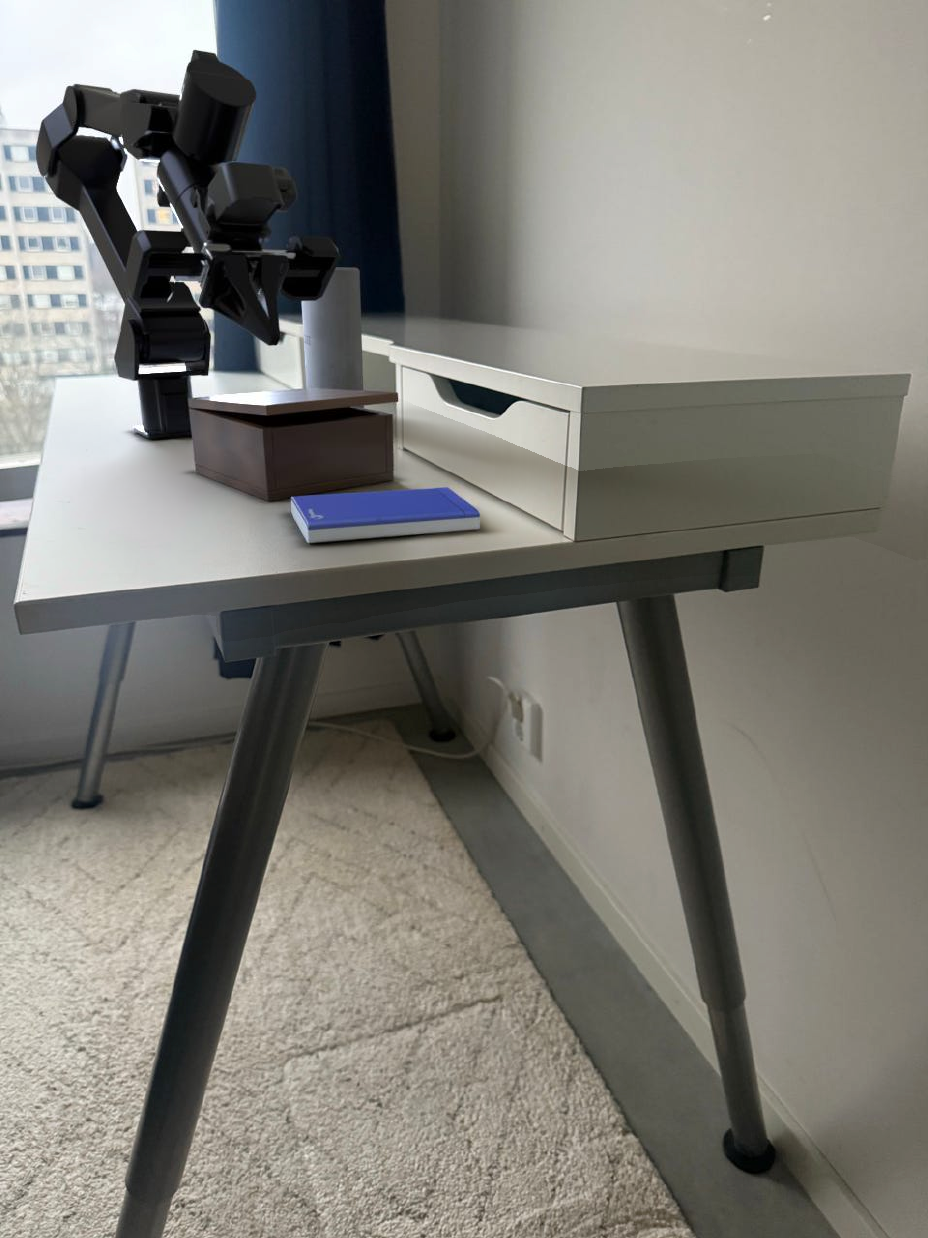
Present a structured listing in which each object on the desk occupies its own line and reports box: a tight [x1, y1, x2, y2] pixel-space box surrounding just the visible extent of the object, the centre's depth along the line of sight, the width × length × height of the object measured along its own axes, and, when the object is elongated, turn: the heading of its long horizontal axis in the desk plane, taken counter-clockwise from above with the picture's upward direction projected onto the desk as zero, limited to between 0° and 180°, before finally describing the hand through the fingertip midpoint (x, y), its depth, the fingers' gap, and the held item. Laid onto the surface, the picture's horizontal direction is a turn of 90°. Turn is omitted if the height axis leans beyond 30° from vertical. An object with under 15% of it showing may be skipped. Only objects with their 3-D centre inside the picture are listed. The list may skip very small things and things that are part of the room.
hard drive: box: [290, 486, 481, 544], centre depth 64 cm, size 2×8×12 cm
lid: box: [188, 387, 399, 416], centre depth 75 cm, size 14×13×1 cm
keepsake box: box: [189, 406, 395, 502], centre depth 77 cm, size 14×13×6 cm
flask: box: [301, 245, 365, 408], centre depth 105 cm, size 15×6×20 cm, turn 19°
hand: (274, 342), depth 75 cm, fingers closed
